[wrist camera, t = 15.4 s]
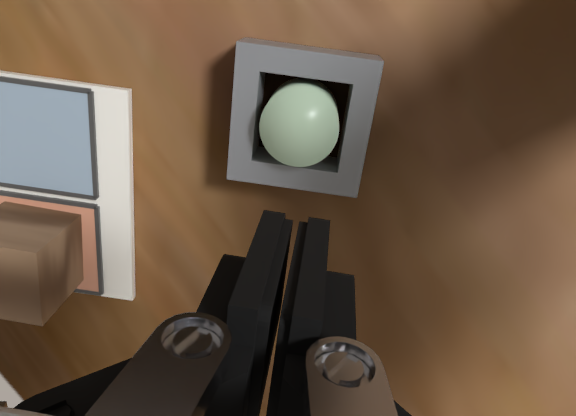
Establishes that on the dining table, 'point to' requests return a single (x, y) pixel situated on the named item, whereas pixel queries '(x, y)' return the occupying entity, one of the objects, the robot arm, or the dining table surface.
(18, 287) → the walnut block
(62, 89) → the picture card
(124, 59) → the dining table surface
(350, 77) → the button housing
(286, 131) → the button
